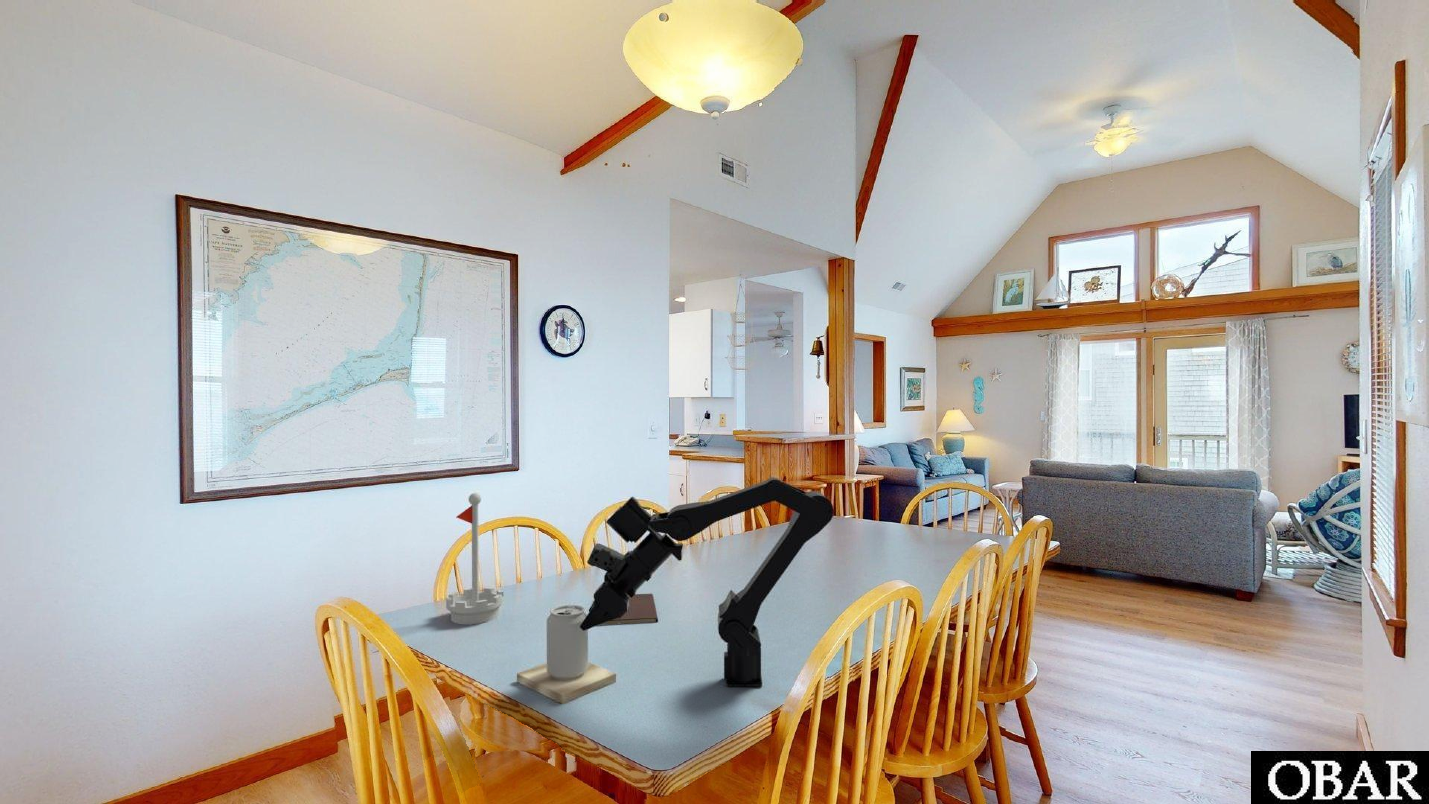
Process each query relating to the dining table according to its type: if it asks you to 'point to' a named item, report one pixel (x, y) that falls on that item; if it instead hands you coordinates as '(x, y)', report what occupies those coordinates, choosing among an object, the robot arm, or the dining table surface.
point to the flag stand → (474, 582)
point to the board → (566, 682)
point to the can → (566, 643)
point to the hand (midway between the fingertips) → (586, 620)
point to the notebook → (638, 610)
